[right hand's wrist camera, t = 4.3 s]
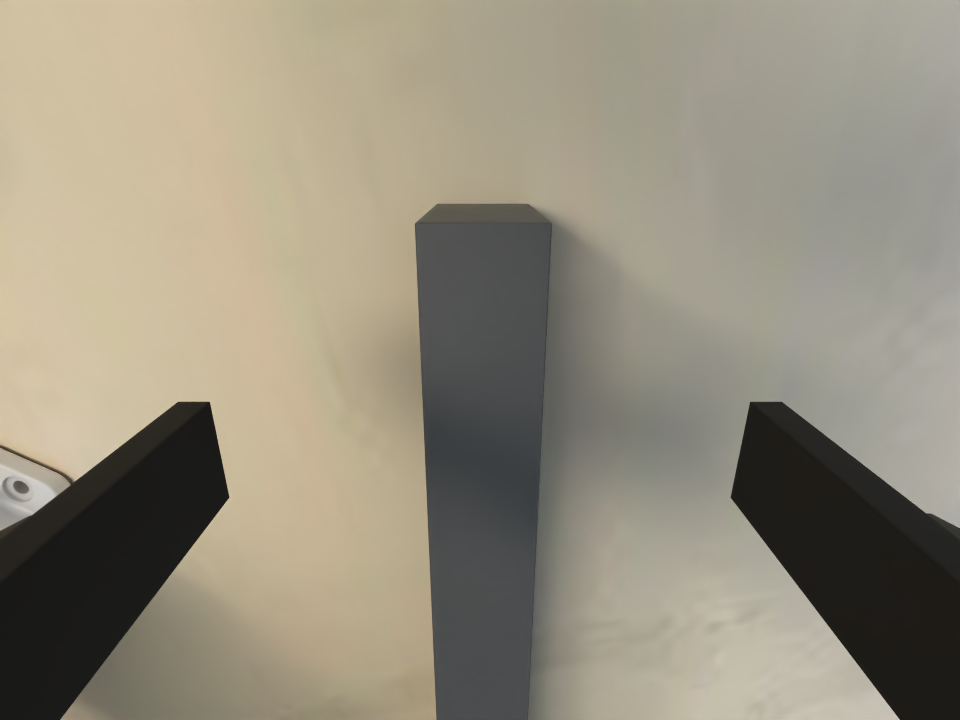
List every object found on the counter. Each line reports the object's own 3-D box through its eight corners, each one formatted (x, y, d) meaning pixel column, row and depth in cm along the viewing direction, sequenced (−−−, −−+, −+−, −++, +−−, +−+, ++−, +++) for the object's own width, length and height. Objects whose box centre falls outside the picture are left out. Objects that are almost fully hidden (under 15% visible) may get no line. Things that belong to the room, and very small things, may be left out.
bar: (436, 203, 25) (414, 222, 16) (529, 203, 25) (552, 222, 16) (455, 867, 44) (449, 1024, 36) (507, 867, 44) (512, 1025, 36)
